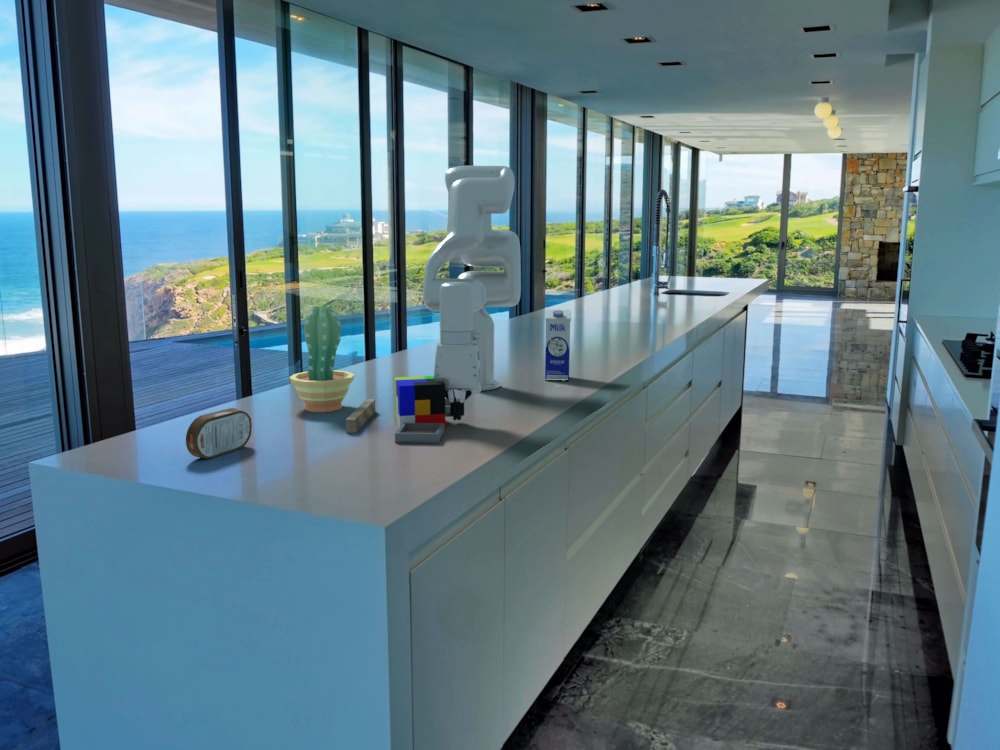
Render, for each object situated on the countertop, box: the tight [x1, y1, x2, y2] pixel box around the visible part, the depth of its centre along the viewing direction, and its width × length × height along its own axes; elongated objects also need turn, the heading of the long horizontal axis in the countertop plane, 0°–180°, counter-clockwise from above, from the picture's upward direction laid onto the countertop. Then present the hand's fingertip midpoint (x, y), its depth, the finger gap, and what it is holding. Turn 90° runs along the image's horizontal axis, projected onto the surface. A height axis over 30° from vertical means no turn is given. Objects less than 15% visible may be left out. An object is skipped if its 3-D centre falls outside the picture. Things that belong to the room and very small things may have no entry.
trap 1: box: [394, 423, 445, 445], centre depth 172 cm, size 9×9×2 cm
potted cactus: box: [288, 304, 355, 413], centre depth 197 cm, size 15×15×25 cm
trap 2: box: [445, 397, 459, 416], centre depth 197 cm, size 9×9×2 cm
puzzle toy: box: [393, 375, 447, 430], centre depth 183 cm, size 10×10×10 cm
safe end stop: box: [345, 398, 376, 434], centre depth 185 cm, size 20×2×3 cm, turn 176°
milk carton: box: [544, 308, 572, 380], centre depth 234 cm, size 7×7×20 cm
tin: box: [185, 407, 253, 460], centre depth 160 cm, size 15×3×8 cm, turn 152°
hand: (457, 418), depth 184 cm, fingers closed
